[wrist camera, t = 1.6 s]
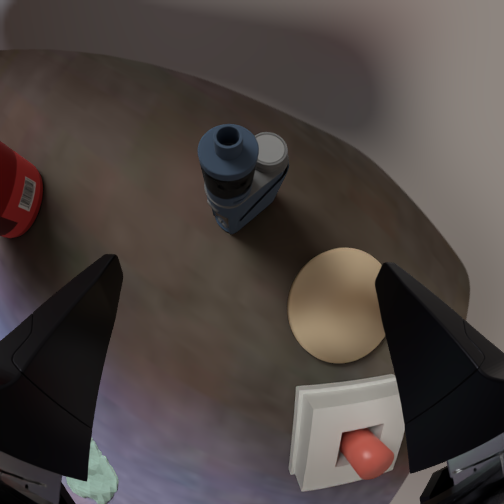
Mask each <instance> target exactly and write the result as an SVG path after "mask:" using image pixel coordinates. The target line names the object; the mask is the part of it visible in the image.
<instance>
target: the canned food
mask: <svg viewBox="0 0 504 504" xmlns="http://www.w3.org/2000/svg"><path fill="white" fill-rule="evenodd" d="M42 195H43V183H42V178H41V175H40V173H39V172H38V170H37V169H36V167H35V166H34V165H33V164H31V163H30V162H28V161H27V160H26V159H24V158H23V157H21V156H20V155H19V154H17V153H16V152H15V151H13V150H12V149H10V148H9V147H8V146H6V145H5V144H4V143H2V142H1V141H0V236H3V237H7V238H14V237H18V236H21V235H23V234H24V233H25V232H26V231H27V230H28V229H29V228H30V227H31V225H32V224H33V222H34V221H35V219H36V216H37V214H38V212H39V209H40V206H41V201H42Z"/></svg>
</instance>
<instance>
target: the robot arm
mask: <svg viewBox="0 0 504 504" xmlns="http://www.w3.org/2000/svg"><path fill="white" fill-rule="evenodd" d="M122 282H123V272H122V269H121V266H120V262H119V259H118V257H117V255H115V254H105V255H103V256H102V257H101V258H99V259H98V260H97V261H95V262H94V263H93V264H91V265H90V266H89V267H88V268H86V269H85V270H84V271H82V272H81V273H80V274H79V275H77V276H76V277H75V278H73V279H72V280H71V281H70V282H68V283H67V284H66V285H65V286H64V287H62V288H61V289H60V290H59V291H57V292H56V293H55V294H54V295H53V296H52V297H50V298H49V299H48V300H47V301H46V302H44V303H43V304H42V305H41V306H40V307H39V308H38V309H36V310H35V311H34V312H33V314H31V315H30V316H29V317H28V318H26V319H25V320H24V321H23V322H22V323H21V324H20V325H19V326H17V327H16V328H15V329H14V330H13V331H12V332H10V333H9V334H8V335H7V336H6V337H5V338H3V339H2V340H1V341H0V504H75V502H74V501H73V499H72V498H71V496H70V495H69V493H68V492H67V490H66V489H65V487H64V485H63V484H62V482H61V480H62V475H63V476H66V477H70V478H74V479H77V480H81V481H85V482H87V479H88V466H89V454H90V444H91V436H92V427H93V420H94V413H95V407H96V401H97V396H98V390H99V385H100V380H101V375H102V371H103V366H104V362H105V357H106V353H107V349H108V345H109V341H110V337H111V333H112V330H113V326H114V322H115V318H116V313H117V307H118V302H119V297H120V291H121V287H122ZM375 289H376V294H377V299H378V304H379V309H380V315H381V320H382V324H383V328H384V332H385V336H386V339H387V343H388V347H389V351H390V355H391V359H392V364H393V368H394V372H395V377H396V382H397V386H398V391H399V396H400V402H401V407H402V413H403V419H404V424H405V425H404V427H405V434H406V441H407V449H408V459H409V469H410V473H415V472H418V471H421V470H424V469H427V468H429V467H432V466H435V465H437V464H440V463H443V462H445V461H447V466H446V467H444V468H442V469H440V470H438V471H436V472H434V473H433V474H432V476H431V478H430V480H429V482H428V484H427V486H426V488H425V489H424V491H423V493H422V495H421V496H420V504H504V353H503V352H502V351H501V350H500V349H498V348H497V347H496V346H495V345H493V344H492V343H491V342H490V341H489V340H487V339H486V338H485V337H484V336H483V335H481V334H480V333H479V332H478V331H477V330H476V329H474V328H473V327H472V326H471V325H470V324H469V323H468V322H467V321H465V320H464V319H462V317H461V316H460V315H458V314H457V313H456V312H455V311H454V310H453V309H451V308H450V307H449V306H448V305H447V304H446V303H444V302H443V301H442V300H441V299H440V298H438V297H437V296H436V295H435V294H433V293H432V292H431V291H430V290H429V289H427V288H426V287H425V286H424V285H422V284H421V283H420V282H418V281H417V280H416V279H415V278H413V277H412V276H411V275H410V274H408V273H407V272H406V271H404V270H403V269H402V268H400V267H399V266H398V265H396V264H395V263H387V262H386V263H383V264H382V266H381V268H380V271H379V273H378V275H377V277H376V279H375Z"/></svg>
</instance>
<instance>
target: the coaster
mask: <svg viewBox="0 0 504 504" xmlns="http://www.w3.org/2000/svg"><path fill="white" fill-rule="evenodd" d="M381 266H382V265H381V264H380V263H379V262H378V261H377V260H376V259H375V258H374V257H372V256H371V255H369V254H368V253H366V252H363V251H361V250H358V249H354V248H337V249H332V250H329V251H326V252H324V253H321V254H319V255H317V256H316V257H314V258H313V259H311V260H310V261H309V262H308V263H306V264H305V265H304V266H303V268H302V269H301V270H300V271H299V273H298V274H297V276H296V277H295V279H294V281H293V283H292V286H291V288H290V291H289V296H288V302H287V315H288V321H289V325H290V328H291V330H292V333H293V335H294V337H295V338H296V340H297V341H298V342H299V344H300V345H301V346H302V347H303V348H304V349H305V350H307V351H308V352H309V353H310V354H311V355H313V356H315V357H316V358H318V359H320V360H323V361H326V362H330V363H347V362H352V361H355V360H358V359H360V358H362V357H364V356H365V355H367V354H369V353H370V352H371V351H372V350H374V349H375V348H376V347H377V346H378V345H379V343H380V342H381V341H382V339H383V338H384V337H385V332H384V328H383V324H382V320H381V315H380V309H379V304H378V299H377V294H376V289H375V279H376V277H377V275H378V273H379V271H380V268H381Z"/></svg>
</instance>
